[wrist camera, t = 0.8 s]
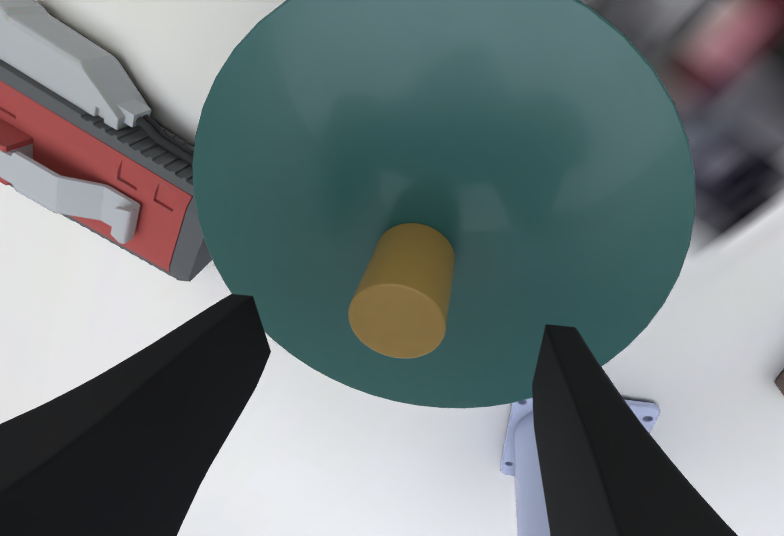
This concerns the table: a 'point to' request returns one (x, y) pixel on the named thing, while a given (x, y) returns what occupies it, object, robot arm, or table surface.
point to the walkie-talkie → (93, 143)
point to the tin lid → (442, 189)
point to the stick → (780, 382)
